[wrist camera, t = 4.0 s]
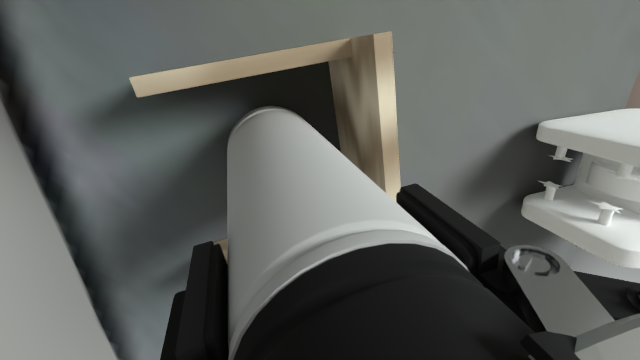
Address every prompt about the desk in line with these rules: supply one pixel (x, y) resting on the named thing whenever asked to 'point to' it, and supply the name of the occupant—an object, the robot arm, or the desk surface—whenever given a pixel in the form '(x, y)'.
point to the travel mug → (347, 264)
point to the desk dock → (348, 93)
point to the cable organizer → (594, 185)
